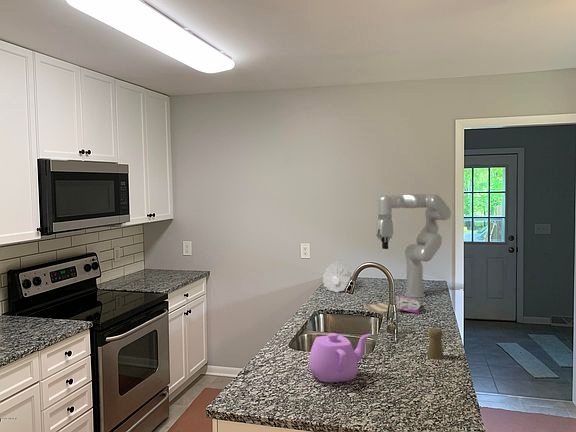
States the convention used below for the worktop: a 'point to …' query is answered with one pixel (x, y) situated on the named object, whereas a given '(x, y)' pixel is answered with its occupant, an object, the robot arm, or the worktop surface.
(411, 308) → the candy bar box
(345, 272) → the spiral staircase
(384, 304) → the maple board
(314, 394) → the worktop surface
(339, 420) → the worktop surface
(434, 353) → the brown pepper mill
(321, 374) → the teapot
